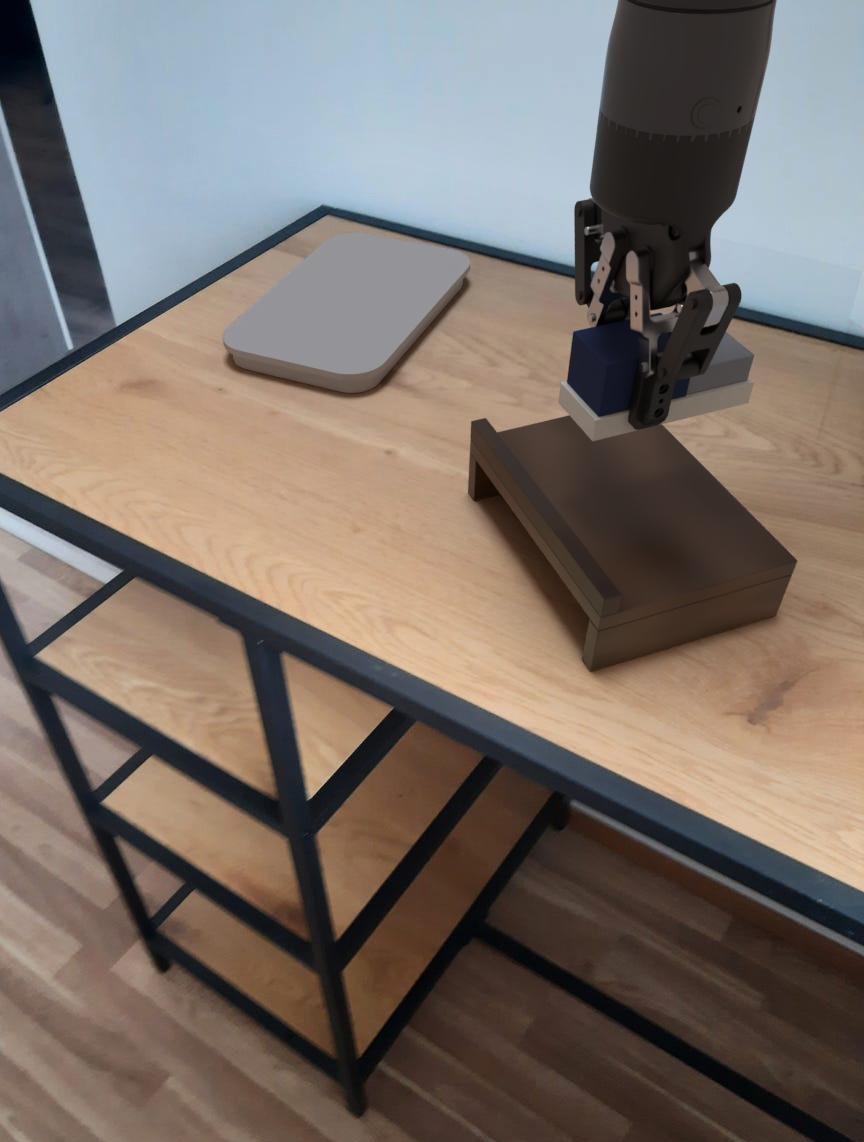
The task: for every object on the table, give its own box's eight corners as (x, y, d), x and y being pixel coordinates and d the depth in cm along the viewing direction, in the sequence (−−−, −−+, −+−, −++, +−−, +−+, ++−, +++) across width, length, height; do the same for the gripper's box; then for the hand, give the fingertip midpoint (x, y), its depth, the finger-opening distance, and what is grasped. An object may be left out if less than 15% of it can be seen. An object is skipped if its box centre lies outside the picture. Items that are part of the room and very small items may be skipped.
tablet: (478, 275, 98) (479, 254, 96) (369, 403, 82) (368, 380, 80) (340, 249, 103) (339, 229, 101) (212, 365, 87) (208, 343, 85)
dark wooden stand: (626, 452, 76) (640, 381, 71) (776, 615, 63) (805, 542, 58) (467, 492, 73) (470, 420, 68) (590, 672, 60) (604, 599, 55)
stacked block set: (707, 367, 62) (725, 295, 58) (748, 403, 59) (769, 329, 55) (557, 402, 60) (566, 330, 56) (592, 441, 57) (603, 367, 53)
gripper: (836, 138, 42) (741, 452, 55) (667, 52, 52) (619, 337, 64) (690, 164, 41) (627, 481, 53) (544, 70, 50) (519, 359, 62)
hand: (623, 401), depth 59 cm, fingers closed on stacked block set, 4 cm apart
